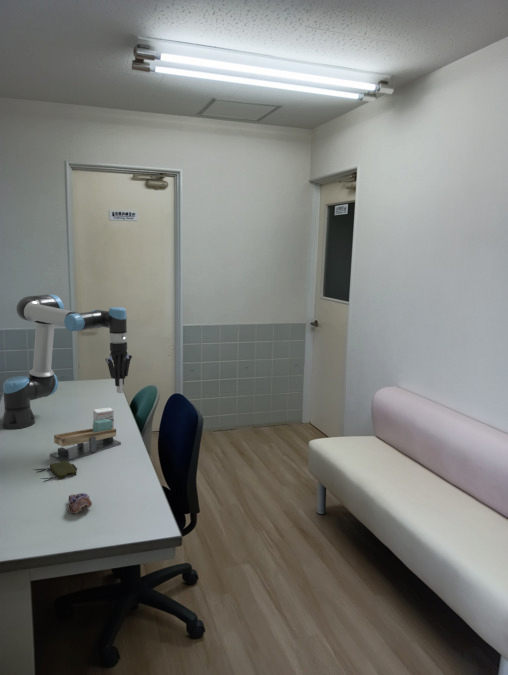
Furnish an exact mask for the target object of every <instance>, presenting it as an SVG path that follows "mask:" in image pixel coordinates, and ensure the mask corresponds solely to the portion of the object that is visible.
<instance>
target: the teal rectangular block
mask: <svg viewBox="0 0 508 675" xmlns="http://www.w3.org/2000/svg"><path fill="white" fill-rule="evenodd" d="M92 423H93V424H92V428H93V432H94V433H95V432H101V431H106V430H112V421H111V420H108V419H103V420H97V421H94V420H93V421H92Z"/></svg>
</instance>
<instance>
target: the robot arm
mask: <svg viewBox="0 0 508 675" xmlns="http://www.w3.org/2000/svg"><path fill="white" fill-rule="evenodd" d="M16 314H17V315H18V317H19V318H21V320H24V321H26V322H27V321H28V322H33V323H34V324H35V336H34V348H33V349H34V350H33V363H32V364H33V365H32V368H31V369H30V371H29V374H28V375H18V376H12V377H9V378H7V379H6V380H4V382H3V387H2V392H3V402H4V403H3V404H4V412H3V415H2V419H1V427H2V428H4V429H8V430H9V429H10V430H16V429H22V428H27V427H30V426H33V425H34V424H35V423H36V417H35V415H34V413H33V411H32V407H31V401H33V400H37V399H42V398H47V397H49V396H51V395H53V394H55V393H56V391H57V390H58V387H59V379H58V377H57V375H56V374H55V373H54V370H52V361H53V347H54V337H55V336H54V334H55V326H59V327H62V328H65V329H66V330H67V331H69V332H80V331H84V330H91V329H96V328H97V329H98V328H108V329H109V350H110V354H109V357H108V358H105V360H104V361H105V362H106V364H107V366H108V371H109V375H110V378H111V379H114V385H115V386H116V393H117V394H118V393H119V394H124V385H125V379H126V377H128V375H129V371H130V370H129V368H130V364H131V360H132V358H133V356H132V355H131V354H129V353H128V342H127V340H128V331H127V330H128V329H127V328H128V327H127V325H128V324H127V319H128V317H127V310H126V308H125V307H122V306H121V307H118V306H117V307H116V306H115V307H110V308H108V310H101V309H93V310H91V311H87V312H78V311H77V312H76V311H72V310H68V309H65V305H64V303H63V301H62V299H61V298H60V297H59V296H58V295H56V294H41V295H28V296H25V297H23V298H21V299H19V301H18V302H17V304H16Z"/></svg>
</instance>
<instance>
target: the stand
mask: <svg viewBox="0 0 508 675" xmlns="http://www.w3.org/2000/svg"><path fill="white" fill-rule="evenodd" d="M121 445H122V442H121V441H119V440H116V439H114V437H110V438H105V439H100V440H96V437H91V438H89V442H84V443H79V444H76V445H73V446H71V447H68V448H65V447H62V446H60V447H59V448H57V451H54V452H52V453H50V454H49V456H50V458H52V459H54V460H57V461H59V462H62V461H68V462H69V463H71V462H72V461H75V460H78V459H82V458H83V457H87V456H90V455H93V454H96V453H99V452H102V451H105V450H109V449H111V448H115V447H117V446H121Z"/></svg>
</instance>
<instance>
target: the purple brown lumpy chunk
mask: <svg viewBox="0 0 508 675" xmlns="http://www.w3.org/2000/svg"><path fill="white" fill-rule="evenodd" d="M92 505H93V502H92V500H91V499H90V496H89V495H88V493H86V492H85V493H84V492H82V493H78V494H75V493H73V494H70V495H68V506H67V510H68V512H69V513H71V514H77V513H79V512H81V511H83V510H84V509H89V508H90V507H91V506H92Z"/></svg>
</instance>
